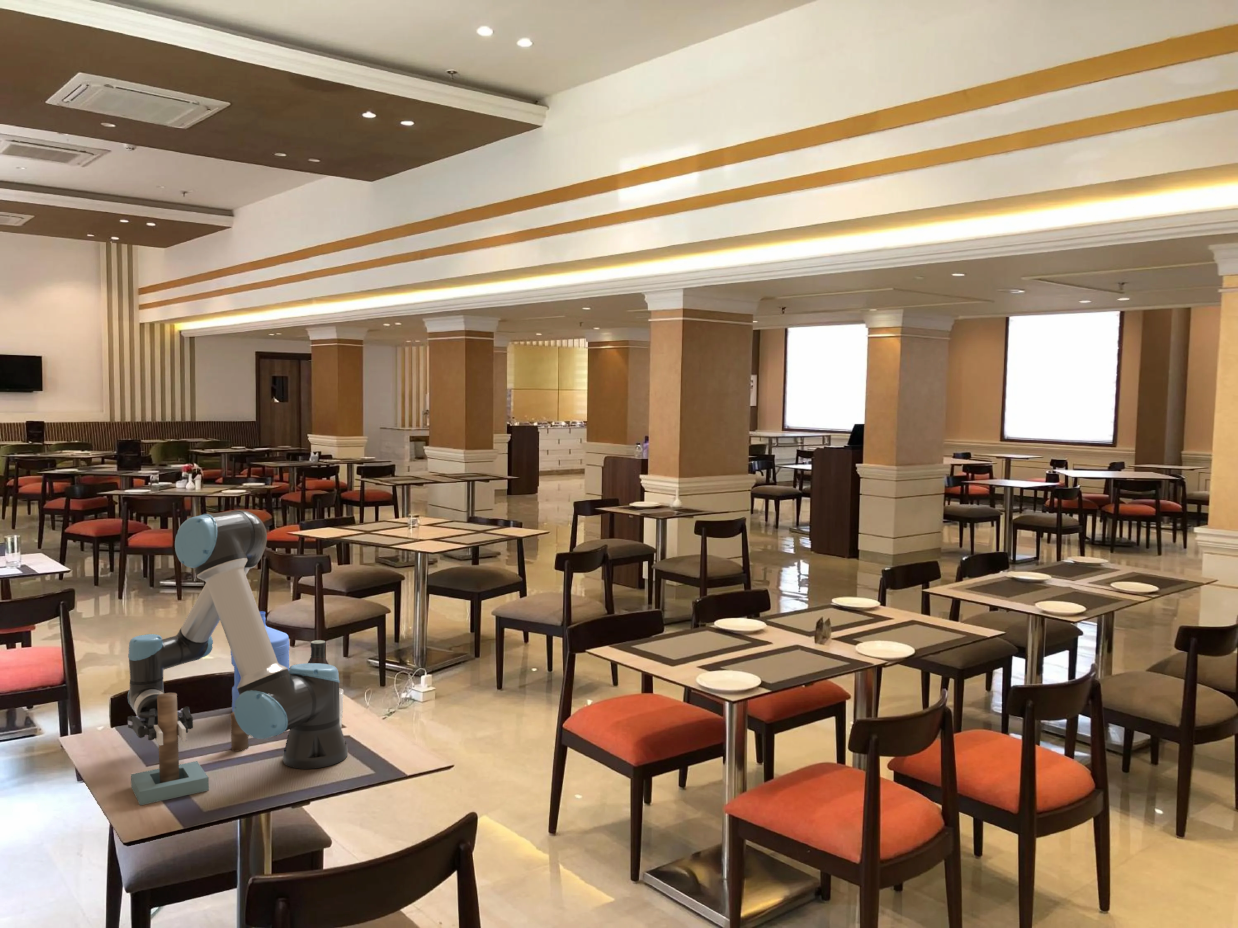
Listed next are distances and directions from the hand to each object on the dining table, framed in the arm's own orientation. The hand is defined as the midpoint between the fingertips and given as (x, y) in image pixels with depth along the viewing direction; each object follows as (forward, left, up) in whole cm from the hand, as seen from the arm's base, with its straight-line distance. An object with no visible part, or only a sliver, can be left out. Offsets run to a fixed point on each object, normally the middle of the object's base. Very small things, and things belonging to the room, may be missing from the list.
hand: (172, 736), depth 210 cm
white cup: (0, -49, -14) cm, 51 cm away
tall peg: (+5, -3, -12) cm, 13 cm away
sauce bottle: (+13, -59, -14) cm, 62 cm away
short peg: (+10, -28, -13) cm, 33 cm away
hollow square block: (+5, -3, -13) cm, 15 cm away
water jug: (+28, -53, -14) cm, 62 cm away
